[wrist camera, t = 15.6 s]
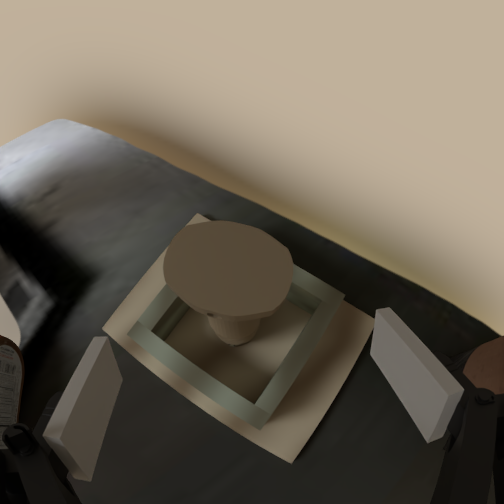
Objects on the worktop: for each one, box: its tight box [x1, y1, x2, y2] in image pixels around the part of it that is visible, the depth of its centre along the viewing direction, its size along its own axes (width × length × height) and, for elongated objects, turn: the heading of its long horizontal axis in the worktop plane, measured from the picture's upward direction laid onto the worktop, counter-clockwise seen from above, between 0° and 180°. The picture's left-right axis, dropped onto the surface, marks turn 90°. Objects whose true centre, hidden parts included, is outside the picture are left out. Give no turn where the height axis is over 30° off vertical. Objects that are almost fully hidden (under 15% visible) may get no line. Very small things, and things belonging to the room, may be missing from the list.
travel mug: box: [450, 336, 504, 395], centre depth 18 cm, size 8×8×20 cm
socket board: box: [102, 213, 375, 463], centre depth 28 cm, size 22×16×6 cm
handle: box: [163, 220, 293, 347], centre depth 22 cm, size 5×6×15 cm
